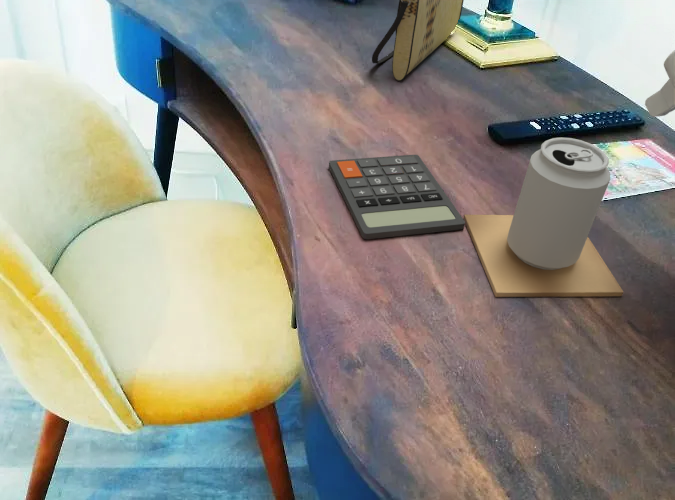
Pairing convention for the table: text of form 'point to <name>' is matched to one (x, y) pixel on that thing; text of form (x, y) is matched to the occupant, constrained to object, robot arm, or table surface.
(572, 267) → the cork mat
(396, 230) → the calculator
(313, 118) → the table surface
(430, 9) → the clutch purse
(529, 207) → the can
